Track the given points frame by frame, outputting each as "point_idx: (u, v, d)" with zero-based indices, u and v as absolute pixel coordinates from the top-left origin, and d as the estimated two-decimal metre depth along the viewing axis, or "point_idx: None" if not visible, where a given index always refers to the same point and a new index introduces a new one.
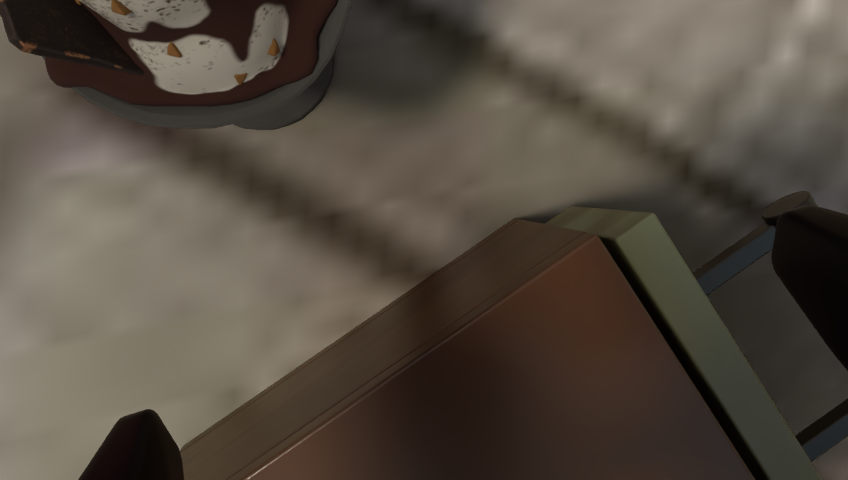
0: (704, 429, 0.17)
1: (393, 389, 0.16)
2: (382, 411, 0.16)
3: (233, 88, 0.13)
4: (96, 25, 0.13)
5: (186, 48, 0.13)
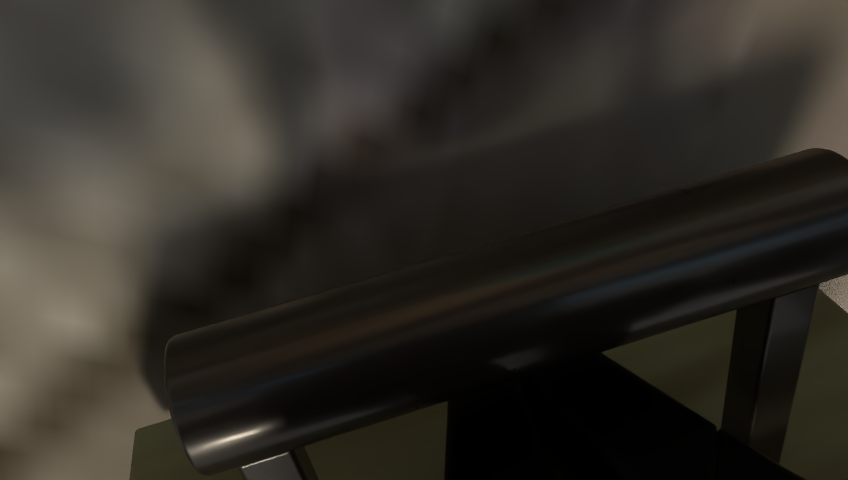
0: None
1: None
2: None
3: None
4: None
5: None
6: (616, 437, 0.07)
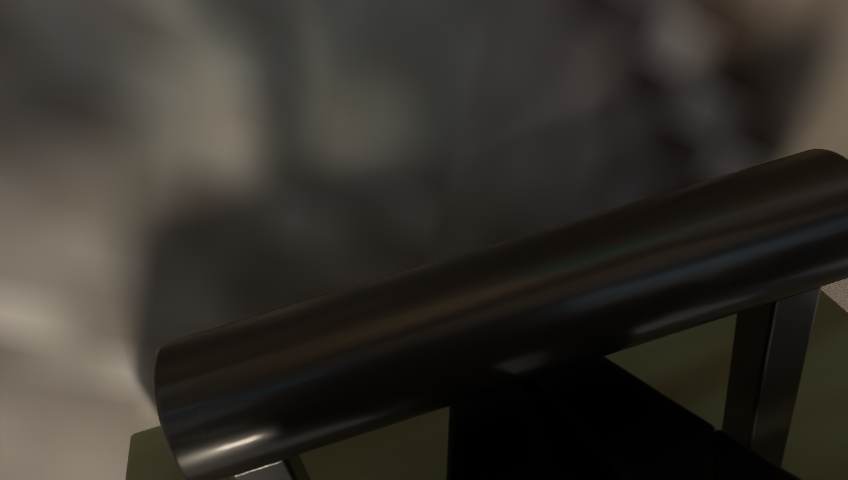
0: None
1: None
2: None
3: None
4: None
5: None
6: (614, 438, 0.07)
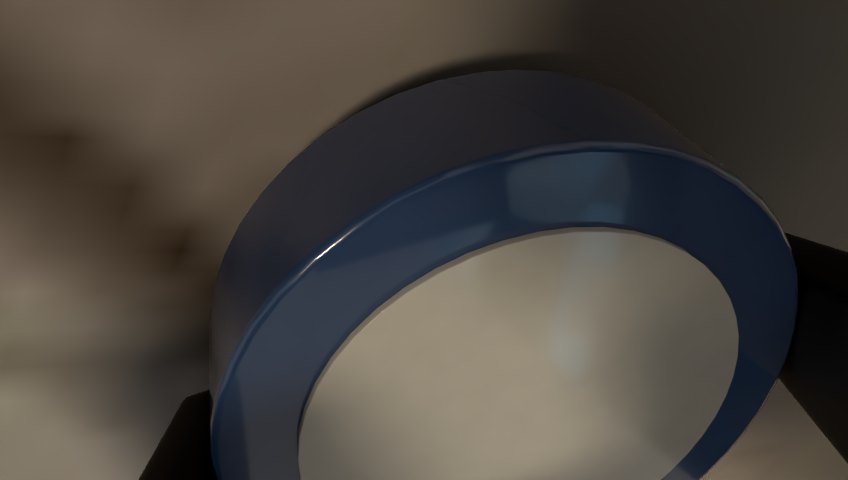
0: None
1: None
2: None
3: None
4: None
5: None
6: None
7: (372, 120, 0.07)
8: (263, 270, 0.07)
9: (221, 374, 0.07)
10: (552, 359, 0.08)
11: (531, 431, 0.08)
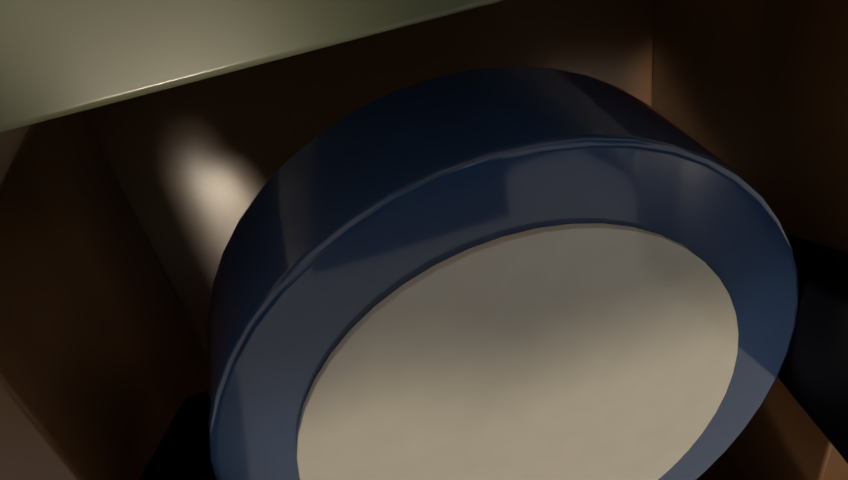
0: None
1: None
2: None
3: None
4: None
5: None
6: None
7: (371, 116, 0.07)
8: (262, 267, 0.07)
9: (220, 371, 0.07)
10: (551, 355, 0.08)
11: (531, 429, 0.08)
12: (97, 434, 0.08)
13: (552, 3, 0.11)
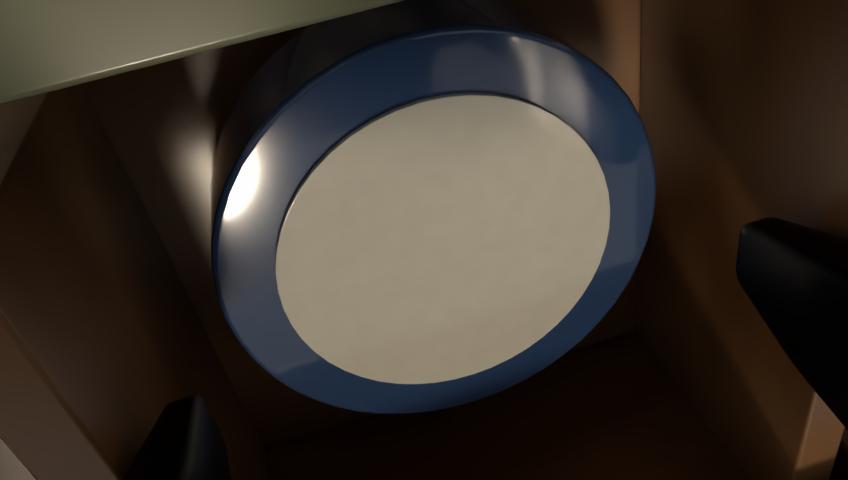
0: None
1: None
2: None
3: None
4: None
5: None
6: None
7: (329, 22, 0.10)
8: (249, 123, 0.09)
9: (219, 198, 0.10)
10: (463, 201, 0.10)
11: (454, 267, 0.11)
12: (104, 398, 0.08)
13: None
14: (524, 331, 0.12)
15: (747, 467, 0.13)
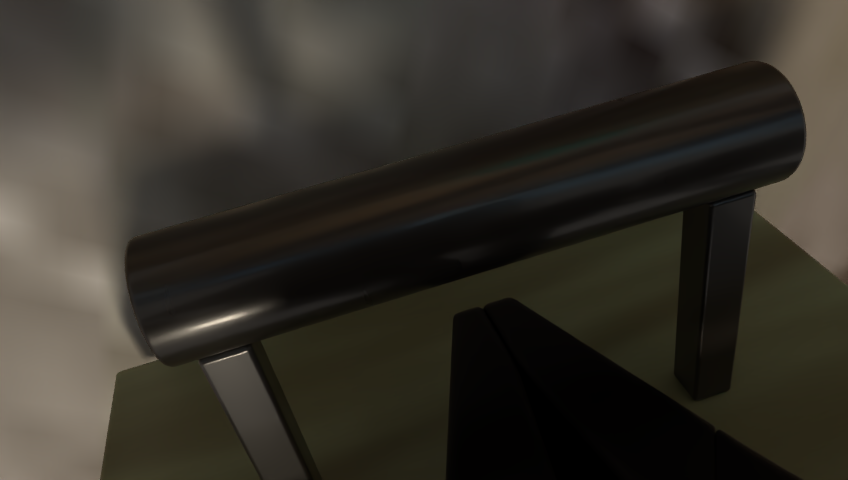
0: None
1: None
2: None
3: None
4: None
5: None
6: (614, 438, 0.07)
7: None
8: None
9: None
10: None
11: None
12: None
13: None
14: None
15: None
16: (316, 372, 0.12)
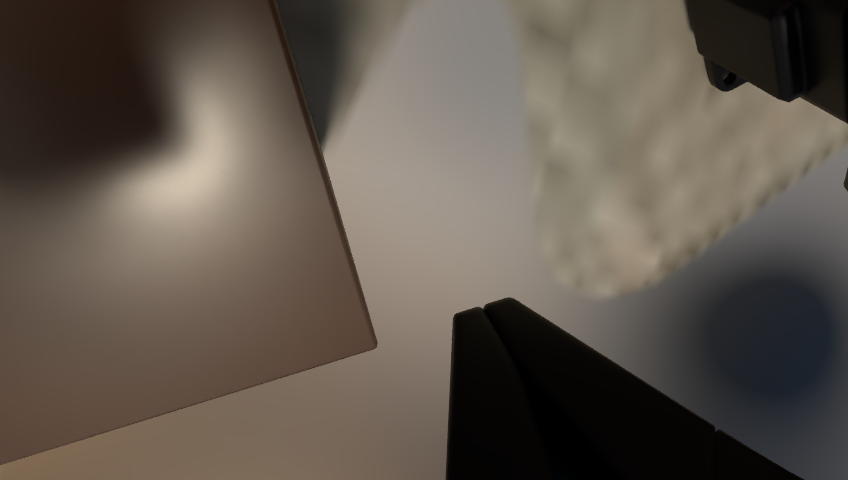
0: None
1: None
2: None
3: None
4: None
5: None
6: (614, 437, 0.07)
7: None
8: None
9: None
10: None
11: None
12: None
13: None
14: None
15: None
16: None
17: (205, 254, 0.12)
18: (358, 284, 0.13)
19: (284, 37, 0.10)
